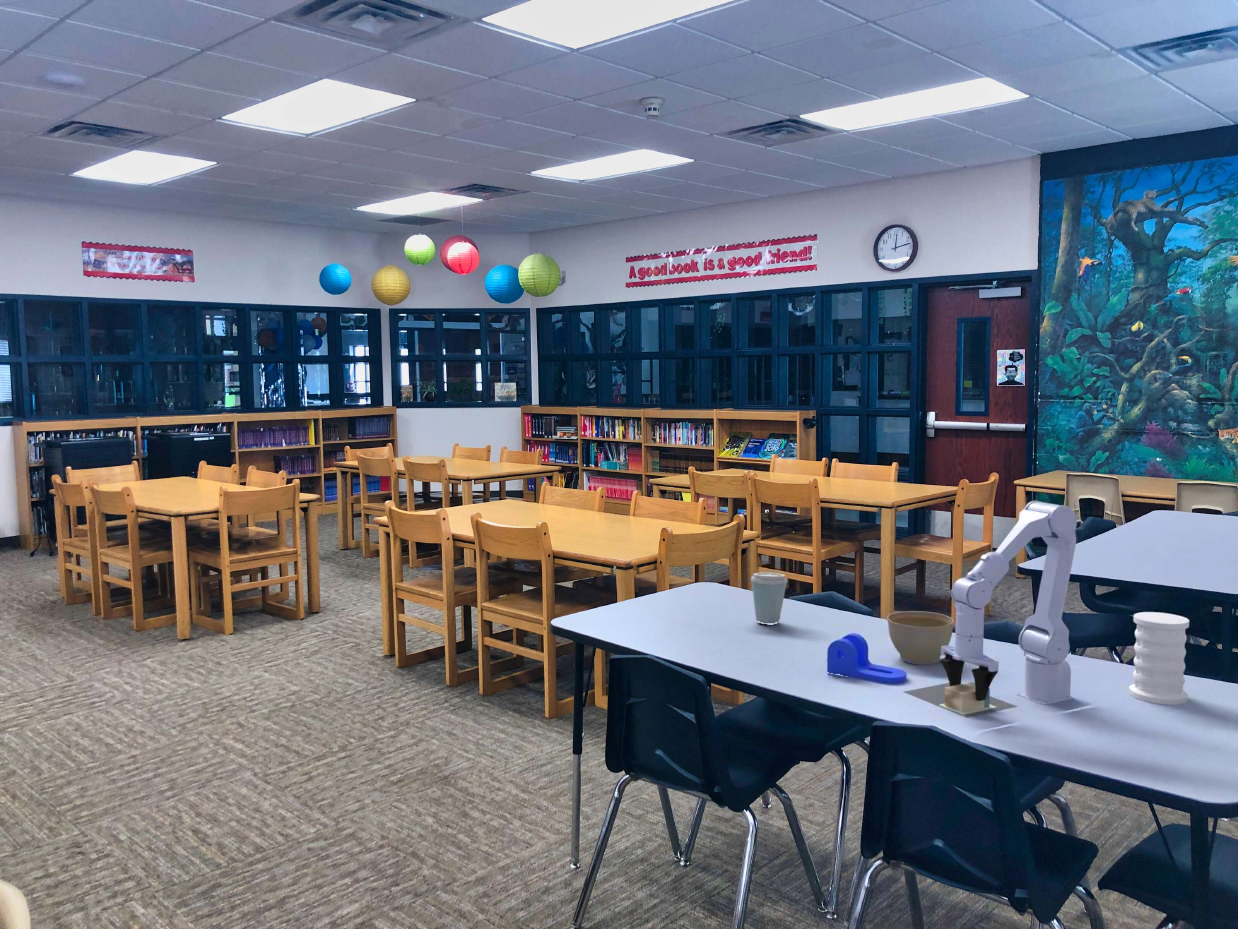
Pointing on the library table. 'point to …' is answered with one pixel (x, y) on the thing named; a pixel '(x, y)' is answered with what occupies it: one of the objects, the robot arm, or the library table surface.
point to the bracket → (859, 661)
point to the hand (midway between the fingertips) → (968, 695)
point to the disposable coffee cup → (768, 596)
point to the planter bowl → (919, 635)
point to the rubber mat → (938, 698)
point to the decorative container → (1159, 658)
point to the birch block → (964, 698)
